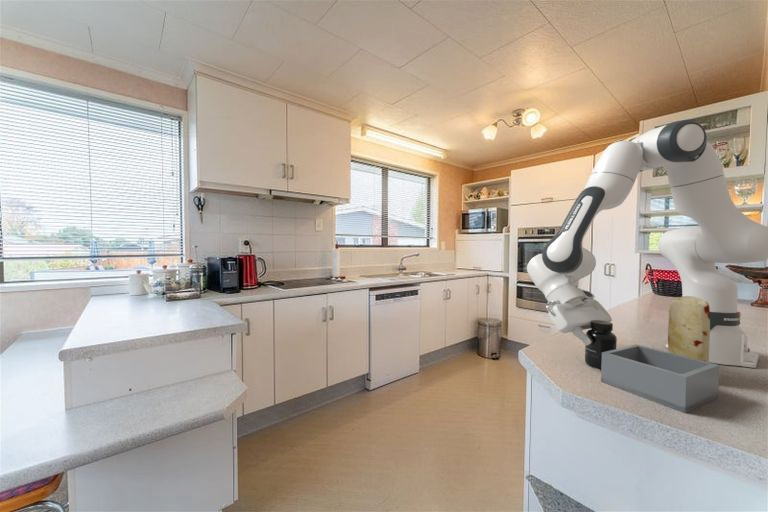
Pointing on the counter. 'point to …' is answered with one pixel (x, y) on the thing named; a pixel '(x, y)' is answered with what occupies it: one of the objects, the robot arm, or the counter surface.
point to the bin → (661, 376)
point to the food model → (689, 328)
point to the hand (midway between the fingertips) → (601, 341)
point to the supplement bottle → (599, 342)
